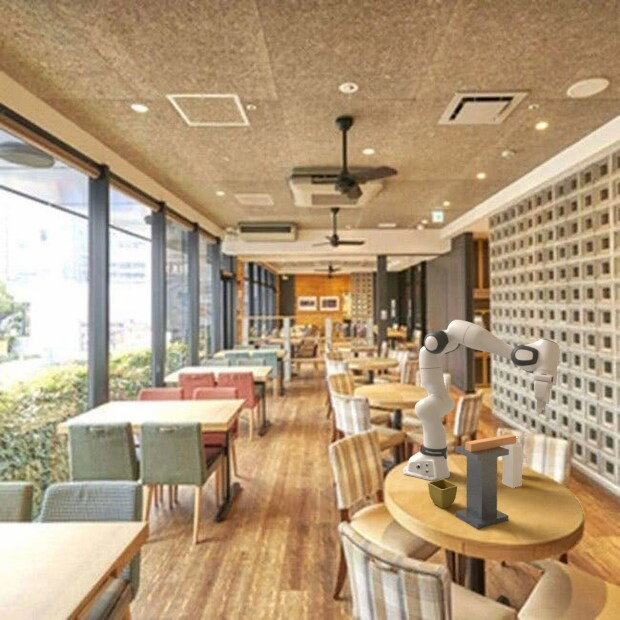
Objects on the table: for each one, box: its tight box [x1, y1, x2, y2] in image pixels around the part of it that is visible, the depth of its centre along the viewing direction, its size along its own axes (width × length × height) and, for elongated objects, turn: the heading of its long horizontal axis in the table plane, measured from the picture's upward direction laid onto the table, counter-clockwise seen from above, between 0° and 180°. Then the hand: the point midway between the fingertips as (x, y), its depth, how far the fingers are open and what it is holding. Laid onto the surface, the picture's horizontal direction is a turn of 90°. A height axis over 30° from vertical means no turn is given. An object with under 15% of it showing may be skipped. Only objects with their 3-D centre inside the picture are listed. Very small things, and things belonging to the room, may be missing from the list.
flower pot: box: [427, 479, 458, 509], centre depth 198 cm, size 9×9×9 cm
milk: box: [501, 436, 523, 489], centre depth 219 cm, size 6×6×22 cm
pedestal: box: [454, 444, 510, 530], centre depth 185 cm, size 16×12×28 cm
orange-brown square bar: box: [464, 433, 517, 452], centre depth 187 cm, size 24×3×3 cm, turn 115°
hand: (540, 412), depth 189 cm, fingers open, 8 cm apart
